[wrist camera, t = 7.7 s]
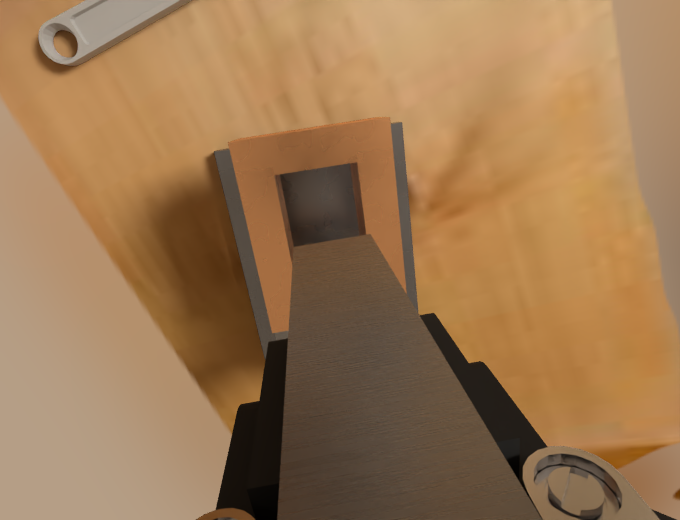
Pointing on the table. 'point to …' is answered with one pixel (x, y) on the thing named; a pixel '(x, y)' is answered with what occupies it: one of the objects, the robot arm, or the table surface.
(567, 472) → the robot arm
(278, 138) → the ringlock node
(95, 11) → the adjustable wrench
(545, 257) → the table surface
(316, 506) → the grey rectangular block
